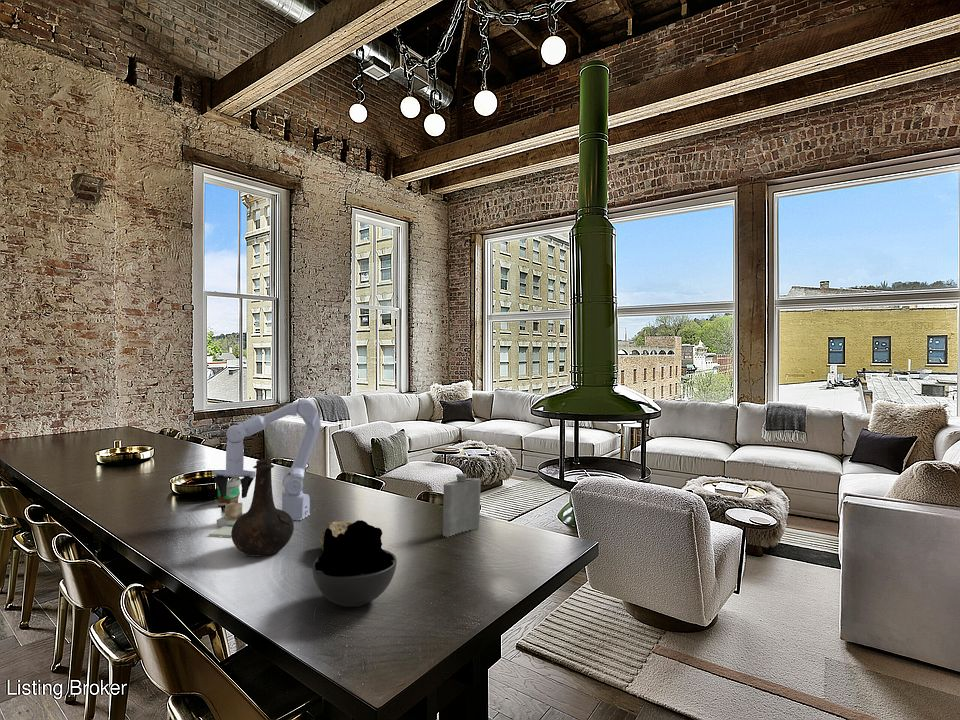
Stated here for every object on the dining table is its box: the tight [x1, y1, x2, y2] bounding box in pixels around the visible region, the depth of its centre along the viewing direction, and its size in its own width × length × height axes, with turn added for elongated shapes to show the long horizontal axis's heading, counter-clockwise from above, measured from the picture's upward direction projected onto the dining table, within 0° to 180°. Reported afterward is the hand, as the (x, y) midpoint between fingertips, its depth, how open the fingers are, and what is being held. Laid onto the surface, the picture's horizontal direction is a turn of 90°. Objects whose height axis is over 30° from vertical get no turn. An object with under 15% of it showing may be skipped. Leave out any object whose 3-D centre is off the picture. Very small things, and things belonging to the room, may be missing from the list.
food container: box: [216, 477, 241, 508], centre depth 208 cm, size 12×6×10 cm, turn 179°
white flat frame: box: [215, 512, 246, 528], centre depth 183 cm, size 14×9×2 cm, turn 83°
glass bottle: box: [230, 458, 295, 557], centre depth 158 cm, size 18×18×28 cm
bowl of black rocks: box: [311, 519, 398, 608], centre depth 125 cm, size 20×20×19 cm
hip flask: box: [442, 473, 481, 538], centre depth 179 cm, size 16×4×20 cm, turn 133°
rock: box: [319, 520, 354, 551], centre depth 156 cm, size 21×14×10 cm
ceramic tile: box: [208, 526, 233, 538], centre depth 173 cm, size 9×8×1 cm
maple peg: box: [224, 502, 243, 519], centre depth 183 cm, size 4×4×7 cm
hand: (233, 497), depth 183 cm, fingers open, 7 cm apart
